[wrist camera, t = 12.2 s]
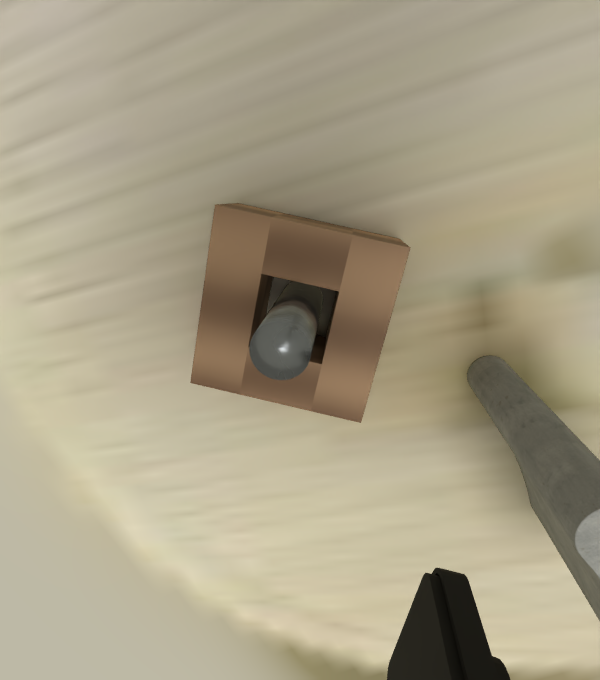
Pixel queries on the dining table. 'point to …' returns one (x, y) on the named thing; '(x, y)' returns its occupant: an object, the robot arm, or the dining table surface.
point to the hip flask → (548, 468)
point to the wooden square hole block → (305, 267)
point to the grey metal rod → (287, 332)
